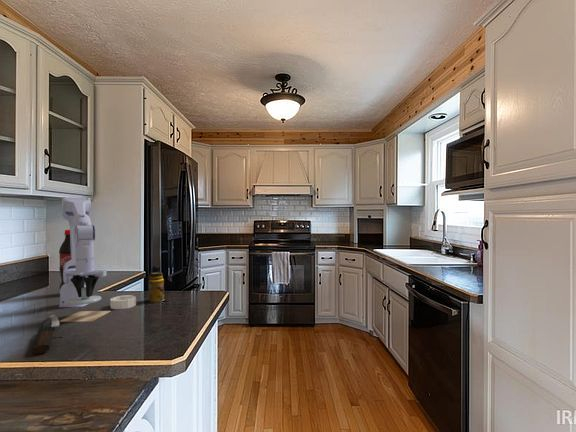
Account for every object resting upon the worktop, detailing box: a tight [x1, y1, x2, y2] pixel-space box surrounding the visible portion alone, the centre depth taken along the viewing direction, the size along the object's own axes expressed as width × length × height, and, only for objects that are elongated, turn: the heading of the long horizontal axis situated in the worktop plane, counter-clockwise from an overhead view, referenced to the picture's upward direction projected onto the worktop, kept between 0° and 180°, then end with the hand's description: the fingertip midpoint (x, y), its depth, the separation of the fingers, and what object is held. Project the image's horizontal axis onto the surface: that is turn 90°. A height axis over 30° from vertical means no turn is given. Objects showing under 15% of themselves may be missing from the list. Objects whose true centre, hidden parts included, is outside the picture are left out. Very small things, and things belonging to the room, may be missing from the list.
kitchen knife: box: [33, 314, 60, 355], centre depth 103 cm, size 36×2×5 cm
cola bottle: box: [58, 229, 73, 290], centre depth 155 cm, size 8×8×30 cm
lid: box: [69, 287, 102, 305], centre depth 119 cm, size 10×10×5 cm
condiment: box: [148, 271, 165, 303], centre depth 140 cm, size 7×8×12 cm
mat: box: [59, 310, 112, 323], centre depth 119 cm, size 12×12×1 cm
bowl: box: [109, 294, 137, 310], centre depth 132 cm, size 9×9×4 cm
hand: (85, 296), depth 119 cm, fingers closed on lid, 2 cm apart
